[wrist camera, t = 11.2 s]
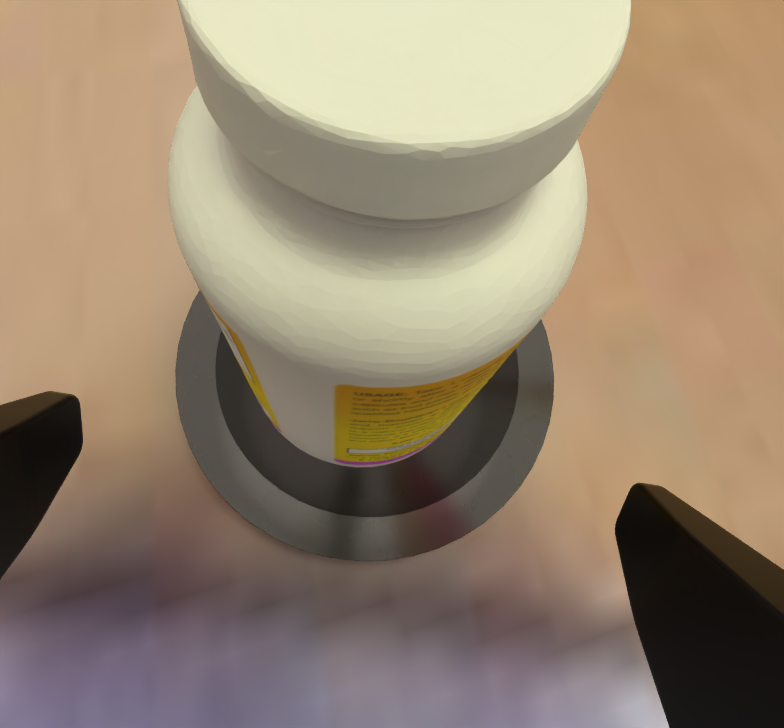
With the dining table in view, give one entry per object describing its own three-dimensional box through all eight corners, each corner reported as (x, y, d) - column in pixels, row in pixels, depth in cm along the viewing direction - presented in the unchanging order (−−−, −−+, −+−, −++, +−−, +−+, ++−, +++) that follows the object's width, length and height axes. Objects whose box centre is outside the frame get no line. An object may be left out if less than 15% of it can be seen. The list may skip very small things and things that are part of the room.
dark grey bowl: (421, 639, 17) (432, 650, 15) (114, 424, 18) (87, 409, 16) (588, 340, 21) (615, 319, 19) (325, 178, 22) (324, 141, 20)
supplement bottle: (499, 335, 18) (816, -78, 6) (398, 513, 16) (579, 406, 4) (327, 235, 19) (315, -320, 7) (207, 395, 17) (-115, -1, 5)
